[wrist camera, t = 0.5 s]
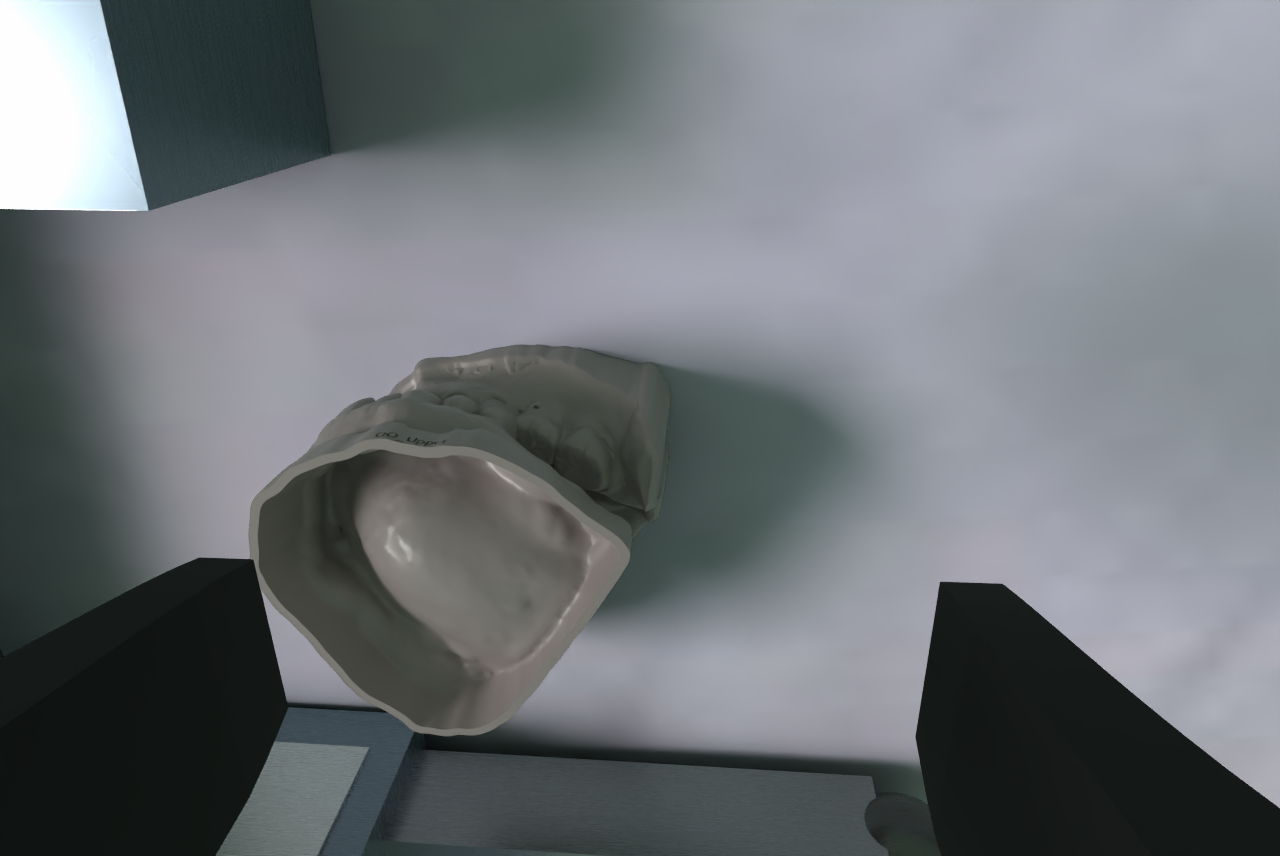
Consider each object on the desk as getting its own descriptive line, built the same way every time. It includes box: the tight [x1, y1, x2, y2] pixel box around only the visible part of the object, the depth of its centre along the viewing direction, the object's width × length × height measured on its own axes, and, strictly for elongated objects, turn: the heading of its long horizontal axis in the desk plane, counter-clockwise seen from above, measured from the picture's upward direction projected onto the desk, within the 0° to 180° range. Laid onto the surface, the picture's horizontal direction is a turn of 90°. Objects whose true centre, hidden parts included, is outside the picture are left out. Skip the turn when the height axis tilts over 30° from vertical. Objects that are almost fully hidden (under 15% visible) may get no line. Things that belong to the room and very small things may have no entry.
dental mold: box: [249, 345, 671, 736], centre depth 17 cm, size 8×7×5 cm
